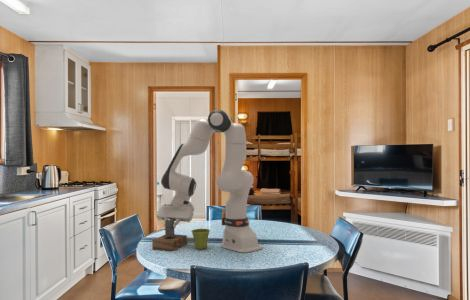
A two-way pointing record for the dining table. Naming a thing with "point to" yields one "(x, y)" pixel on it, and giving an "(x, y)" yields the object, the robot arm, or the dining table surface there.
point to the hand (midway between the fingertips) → (169, 226)
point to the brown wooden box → (169, 242)
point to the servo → (169, 227)
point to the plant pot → (200, 238)
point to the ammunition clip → (223, 216)
